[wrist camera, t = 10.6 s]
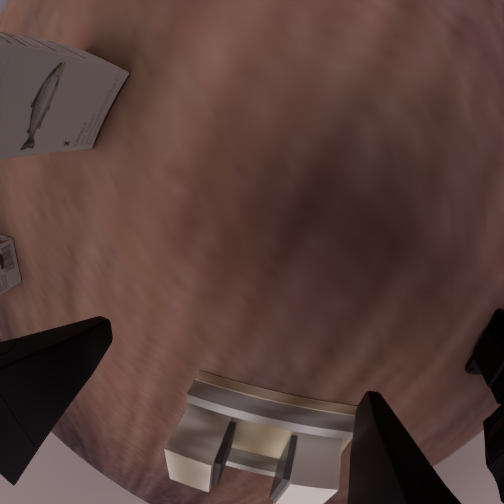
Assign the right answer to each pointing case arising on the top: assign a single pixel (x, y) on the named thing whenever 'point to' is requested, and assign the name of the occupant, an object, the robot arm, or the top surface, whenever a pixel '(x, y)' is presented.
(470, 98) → the top surface
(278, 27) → the top surface
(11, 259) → the coffee box
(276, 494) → the block
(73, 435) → the top surface
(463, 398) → the top surface
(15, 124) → the supplement box
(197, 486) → the beige clamp block
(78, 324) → the robot arm
